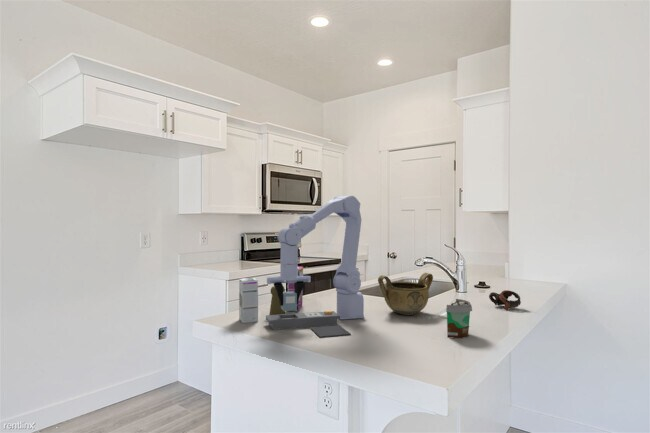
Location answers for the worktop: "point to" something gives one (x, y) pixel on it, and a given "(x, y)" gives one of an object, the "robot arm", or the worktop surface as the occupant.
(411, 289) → the ceramic bowl
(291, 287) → the candy bar box
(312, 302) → the worktop surface
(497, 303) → the dark brown looped piece
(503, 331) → the worktop surface
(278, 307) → the tan rounded upright piece
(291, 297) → the block
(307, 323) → the power strip
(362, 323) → the worktop surface
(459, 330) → the food container
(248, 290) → the syrup box
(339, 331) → the mat
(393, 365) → the worktop surface
